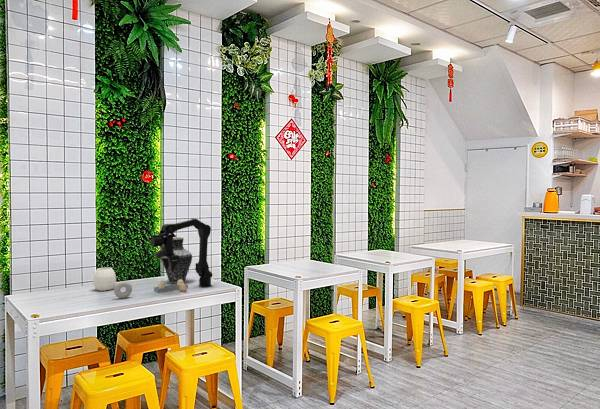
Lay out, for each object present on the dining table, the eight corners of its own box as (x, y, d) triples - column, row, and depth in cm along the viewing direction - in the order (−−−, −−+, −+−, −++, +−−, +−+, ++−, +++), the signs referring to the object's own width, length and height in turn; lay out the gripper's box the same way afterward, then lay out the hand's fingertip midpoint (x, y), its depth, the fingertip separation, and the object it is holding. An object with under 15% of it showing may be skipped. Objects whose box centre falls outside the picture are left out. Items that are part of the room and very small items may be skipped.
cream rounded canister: (97, 293, 296) (97, 270, 296) (90, 289, 306) (90, 268, 305) (119, 289, 305) (119, 268, 304) (111, 286, 315) (111, 265, 314)
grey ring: (114, 300, 277) (114, 282, 276) (113, 298, 280) (113, 281, 279) (133, 297, 282) (132, 280, 281) (131, 296, 285) (131, 279, 284)
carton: (183, 286, 312) (183, 277, 312) (187, 288, 307) (187, 279, 307) (154, 290, 300) (153, 281, 300) (158, 292, 295) (158, 283, 295)
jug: (189, 278, 339) (188, 235, 338) (195, 283, 321) (194, 238, 320) (158, 281, 331) (157, 237, 330) (162, 286, 313) (162, 240, 312)
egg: (184, 290, 300) (184, 282, 300) (187, 291, 297) (187, 283, 297) (178, 291, 297) (178, 283, 297) (181, 292, 294) (180, 284, 294)
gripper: (149, 244, 297) (150, 270, 298) (161, 247, 283) (162, 274, 283) (167, 243, 304) (168, 267, 305) (179, 245, 289) (180, 271, 290)
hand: (169, 270), depth 296 cm, fingers open, 9 cm apart
